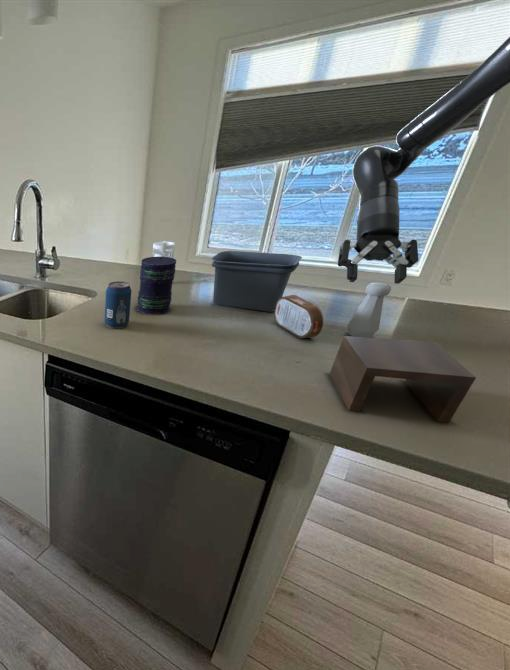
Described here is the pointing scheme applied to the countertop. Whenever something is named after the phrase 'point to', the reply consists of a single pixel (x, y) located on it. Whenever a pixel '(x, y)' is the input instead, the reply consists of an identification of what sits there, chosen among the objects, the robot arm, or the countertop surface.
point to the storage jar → (156, 285)
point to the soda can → (117, 304)
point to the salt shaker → (369, 311)
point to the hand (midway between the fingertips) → (375, 281)
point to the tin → (298, 316)
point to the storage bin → (251, 278)
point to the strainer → (163, 249)
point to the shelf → (401, 372)
